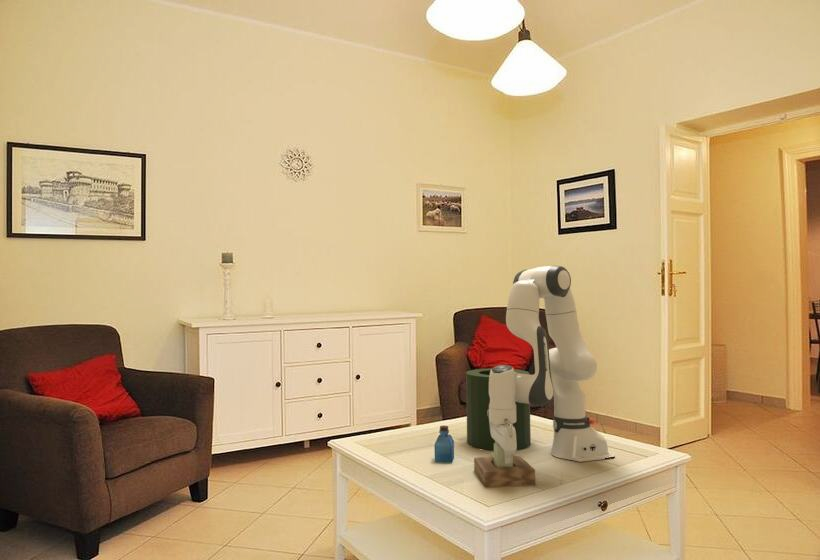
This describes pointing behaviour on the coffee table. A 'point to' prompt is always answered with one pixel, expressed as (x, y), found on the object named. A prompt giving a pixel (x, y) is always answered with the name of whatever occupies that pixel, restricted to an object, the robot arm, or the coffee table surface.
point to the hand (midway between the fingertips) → (503, 458)
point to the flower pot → (479, 419)
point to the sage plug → (500, 457)
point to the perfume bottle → (444, 446)
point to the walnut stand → (504, 472)
